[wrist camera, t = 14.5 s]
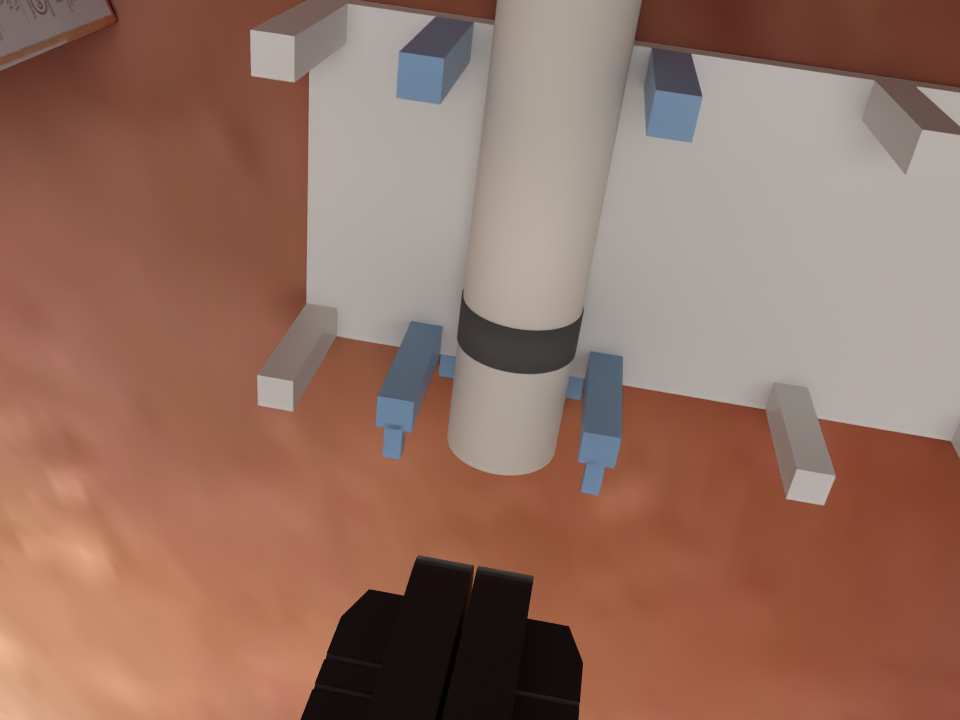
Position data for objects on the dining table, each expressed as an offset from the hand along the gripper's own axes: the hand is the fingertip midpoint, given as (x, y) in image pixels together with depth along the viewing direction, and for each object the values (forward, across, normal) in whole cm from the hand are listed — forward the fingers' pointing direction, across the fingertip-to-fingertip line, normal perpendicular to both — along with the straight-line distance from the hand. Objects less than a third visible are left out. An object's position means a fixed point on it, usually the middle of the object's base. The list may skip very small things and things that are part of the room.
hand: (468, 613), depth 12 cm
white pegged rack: (+22, -4, +3) cm, 22 cm away
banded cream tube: (+21, +1, +3) cm, 21 cm away
